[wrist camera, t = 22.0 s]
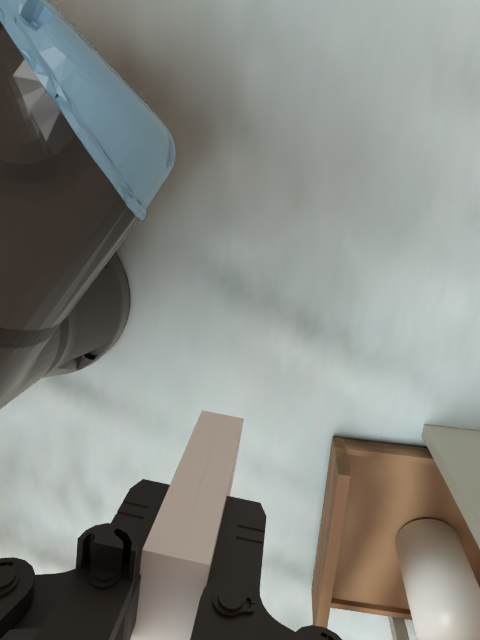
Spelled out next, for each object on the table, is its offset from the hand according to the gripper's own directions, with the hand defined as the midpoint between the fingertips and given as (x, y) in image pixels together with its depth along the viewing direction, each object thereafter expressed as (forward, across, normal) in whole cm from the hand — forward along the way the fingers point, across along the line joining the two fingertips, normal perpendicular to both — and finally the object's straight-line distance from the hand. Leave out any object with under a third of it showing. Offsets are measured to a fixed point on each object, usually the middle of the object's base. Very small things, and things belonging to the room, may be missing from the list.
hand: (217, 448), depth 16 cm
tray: (+26, +19, -21) cm, 39 cm away
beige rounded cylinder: (+24, +20, -21) cm, 38 cm away
